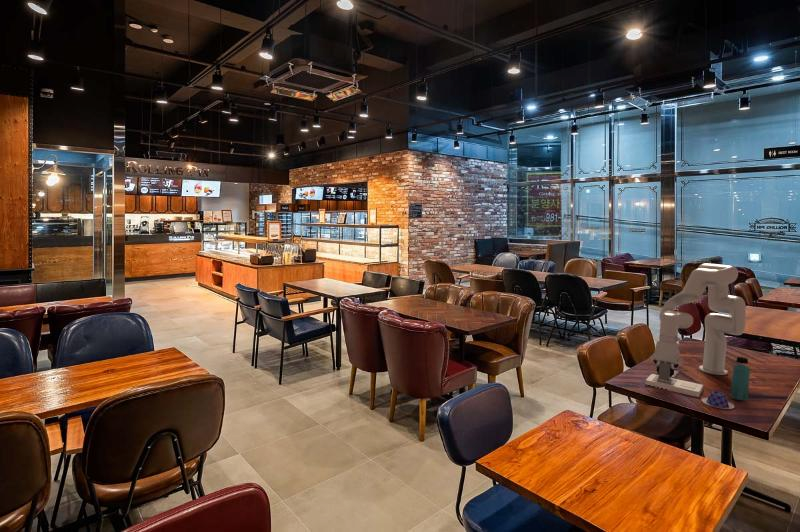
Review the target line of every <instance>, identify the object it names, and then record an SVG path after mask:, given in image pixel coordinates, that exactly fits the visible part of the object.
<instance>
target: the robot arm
mask: <svg viewBox="0 0 800 532" xmlns="http://www.w3.org/2000/svg"><path fill="white" fill-rule="evenodd" d="M738 276H739V270H738V269H737V267H736V266H734V265H733V266H732V265H727V264H719V263H718V264H717V263H702V264H700V265H699V266H698V268H695V269H693V270H692V271H691V273H690V275H689V277H688V278H687V281H686V283H685V285H684V287H683V289H682V291H680V292H679V293H677V294H675V295H673V296H671V297H670V298H669V299H668V300H666V301H665V302H664V304H663V306H662V308H661V310H660V313H659V321H660V324H659V337H658V339H657V341H656V344H655V349H654V353H652V354H651V355H650V356H649V359H650V360H651V361H652V362H653V363H654V364H655V365H656V373H657V375H658V374H659V366H660V362H661V361H665V362H670V363H671V369H670V377H672V375H674V370H675V369H676V368H678V367H680V366H682V365H684V362H683V360H682V359H681V357H680V354H681V353H680V352H681V351H680V342H681V339H682V338H681V337H679V336H678V335H679V329H688V328H690V327H691V326H693V324H694V317H693V316H692V315H691V314H689V313H688V312H683V311H678V310H675V309H676V308H677V307H680V306H682V305H685V304H690V303H694V302H698V301H700V300H701V298H702V296H703V294H704V292H705V290H706V289H707V288H708V289H707V290H708V291H707V292H708V293H707V296H708V298H707V305H708V308H709V310H711V311H713V312H710V313H708V314H707V315H706V316H705V317H704V328H705V329H704V330H705V337H704V350H703V358H702V359H703V360H702V365H699V366H698V369H699V370H700V371H701V372H703V373H706V374H710V375H714V376H715V375H717V376H726V375H728V372H729V371H728V370H726V369H725V367H726V366H725V364H726V355H727V354H726V353H727V347H728V346H727V344H728V340H727V337H726V335H727V334H728V335H733V336H740V335H743V333H744V332H745V328H746V314H747V313H746V311H747V309H746V307H747V305H746V302H745V300H744V299H743V297H740V296H736V295H730V294H729V285H730V284H732V283H734V282H735V281H736V280H737V279H738ZM716 312H717V313H716ZM727 314H728V315H727ZM725 334H726V335H725Z"/></svg>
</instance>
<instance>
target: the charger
mask: <svg viewBox="0 0 800 532" xmlns="http://www.w3.org/2000/svg"><path fill="white" fill-rule="evenodd" d="M670 369H671V363H670V362H665V361H661V362H660V366H659V377H658V378H659V379H664V380H668V381H669V380H670V379H671V377H670Z"/></svg>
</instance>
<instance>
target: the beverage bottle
mask: <svg viewBox="0 0 800 532" xmlns="http://www.w3.org/2000/svg"><path fill="white" fill-rule="evenodd" d="M736 362H737V363H735V364H733V365H732V375H731V383H730V384H731V385H730V397H731V398H733V399H735V400H739V401H747V400H748V399H749V395H750V374H751V368H750V366H748V365H747V364H749V358H747V357H743V356H737V357H736Z"/></svg>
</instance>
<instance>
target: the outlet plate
mask: <svg viewBox="0 0 800 532" xmlns="http://www.w3.org/2000/svg"><path fill="white" fill-rule="evenodd" d="M658 377H659V375H658V374H655V373H651V374H650V375H649V376H648V377H647V378H646V379H645V384H647V385H646V386H648V385H651V386H650V387H652V386H655V387H654V388H657V387H659V388H658V389H661V388H663V389H662V390H665V389H667V390H666V391H670V392H675V393H680V394H684V395H688V396H692V397H696V398H699V397H700V396H701V394H702V392H703V390H704V384H701V383H697V382H691V381H687V380H682V379H678V378H671V379H670V380H669V381H668V380H664V379H659V378H658Z"/></svg>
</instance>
